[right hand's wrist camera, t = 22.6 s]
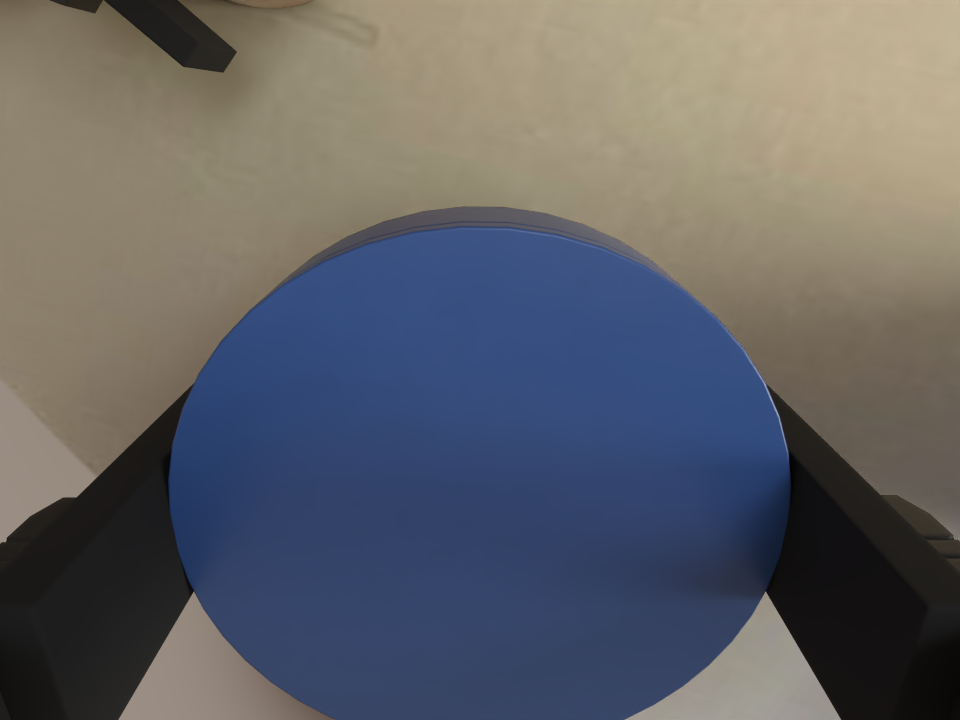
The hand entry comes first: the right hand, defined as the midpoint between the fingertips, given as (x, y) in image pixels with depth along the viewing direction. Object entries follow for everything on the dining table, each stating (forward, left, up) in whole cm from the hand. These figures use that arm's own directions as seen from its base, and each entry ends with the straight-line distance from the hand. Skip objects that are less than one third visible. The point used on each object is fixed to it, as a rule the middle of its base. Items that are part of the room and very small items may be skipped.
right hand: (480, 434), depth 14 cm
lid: (0, 0, +3) cm, 3 cm away
